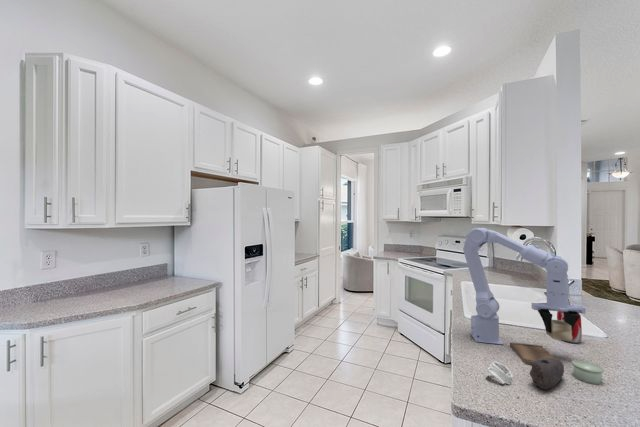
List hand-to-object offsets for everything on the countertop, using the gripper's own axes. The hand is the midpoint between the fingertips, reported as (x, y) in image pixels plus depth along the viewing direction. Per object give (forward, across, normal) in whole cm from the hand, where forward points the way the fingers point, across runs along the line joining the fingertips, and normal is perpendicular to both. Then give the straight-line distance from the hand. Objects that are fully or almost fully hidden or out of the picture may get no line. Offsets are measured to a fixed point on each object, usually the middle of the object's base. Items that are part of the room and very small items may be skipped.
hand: (558, 332), depth 94 cm
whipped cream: (+9, -24, -20) cm, 32 cm away
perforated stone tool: (+9, -11, -18) cm, 23 cm away
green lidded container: (+8, +1, -12) cm, 15 cm away
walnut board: (+8, -8, -2) cm, 12 cm away
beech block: (+2, 0, 0) cm, 2 cm away
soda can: (+9, +12, +17) cm, 23 cm away
